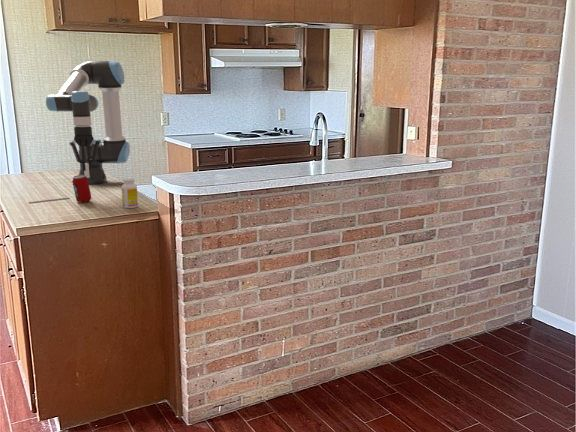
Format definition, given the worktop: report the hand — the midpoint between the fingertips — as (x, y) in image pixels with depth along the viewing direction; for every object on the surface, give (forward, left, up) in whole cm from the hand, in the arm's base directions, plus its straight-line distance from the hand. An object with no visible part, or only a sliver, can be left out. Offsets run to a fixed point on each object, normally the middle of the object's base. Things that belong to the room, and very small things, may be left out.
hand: (87, 177), depth 256 cm
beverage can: (+2, 0, -11) cm, 11 cm away
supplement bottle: (-11, +22, -12) cm, 27 cm away
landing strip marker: (+15, -12, -12) cm, 22 cm away
